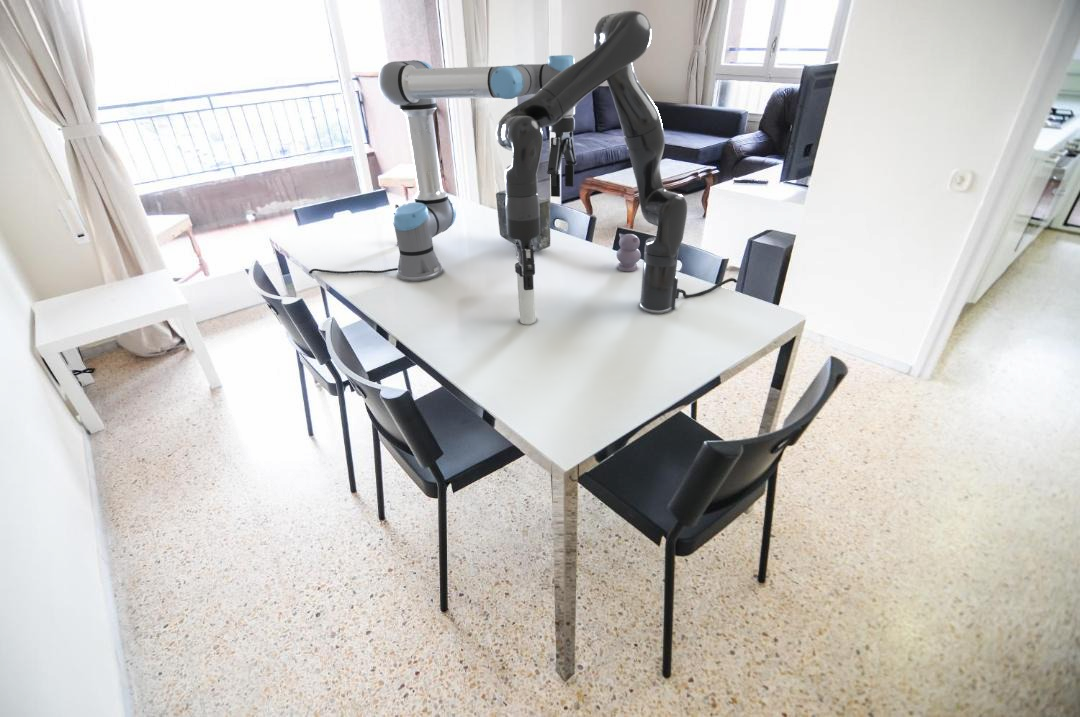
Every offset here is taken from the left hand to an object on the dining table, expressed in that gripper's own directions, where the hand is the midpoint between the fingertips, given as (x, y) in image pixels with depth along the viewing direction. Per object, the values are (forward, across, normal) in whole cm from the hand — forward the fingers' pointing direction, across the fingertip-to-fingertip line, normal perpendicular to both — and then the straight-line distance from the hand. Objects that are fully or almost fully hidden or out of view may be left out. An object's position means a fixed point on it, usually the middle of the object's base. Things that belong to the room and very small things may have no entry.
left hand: (562, 191), depth 156 cm
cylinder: (+28, -36, -1) cm, 46 cm away
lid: (+11, -36, -1) cm, 38 cm away
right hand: (+9, -51, -8) cm, 52 cm away
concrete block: (+28, +23, +23) cm, 43 cm away
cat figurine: (+28, +12, -20) cm, 36 cm away
